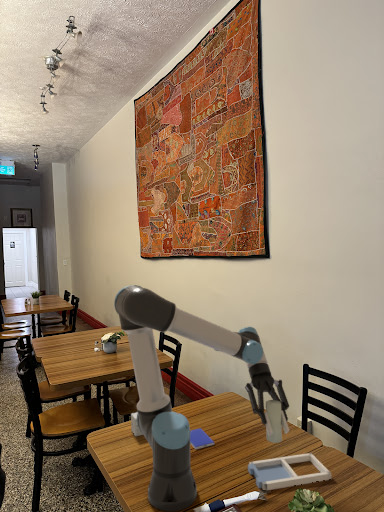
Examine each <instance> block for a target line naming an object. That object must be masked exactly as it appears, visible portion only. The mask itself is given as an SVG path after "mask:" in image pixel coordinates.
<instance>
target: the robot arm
mask: <svg viewBox="0 0 384 512" xmlns="http://www.w3.org/2000/svg"><path fill="white" fill-rule="evenodd" d="M113 304H114V306H113V307H114V310H115V312H116V314H117V315H118V319H119V323H120V324H119V325H120V327H121V330H122V331H123V332H125V334H126V335H127V340H128V346H129V350H130V356H131V360H132V365H133V371H134V376H135V382H136V386H137V393H138V396H139V397H138V398H139V401H138V402H137V403H136V412H138V413H137V424H138V427H139V429H140V431H141V433H142V434H143V435H142V436H143V437H144V438H145V439H146V442H147V443H148V444H149V447H150V448H151V451H152V473H151V478H150V482H148V483H149V484H148V487H147V500H148V502H149V504H150V505H151V506H152V507H153V508H155V509H157V510H158V511H164V512H178V511H182V510H185V509H186V508H188V507H190V506H191V505H192V504H194V503H195V501H196V499H197V495H198V487H197V483H196V480H195V477H194V474H193V471H192V469H191V443H190V431H191V428H190V422H189V420H188V418H187V417H186V416H185V415H184V414H182V413H178V412H176V411H173V409H172V402H171V397H170V396H169V395H168V394H166V393H165V390H164V384H163V378H162V372H161V368H160V362H159V357H158V352H157V346H156V341H155V335H154V330H155V331H157V332H160V333H166V332H170V333H173V334H175V335H177V336H180V337H183V338H186V339H188V340H189V341H193V342H195V343H198V344H200V345H202V346H206V347H208V348H210V349H212V350H214V351H215V352H220V353H223V354H226V355H229V356H231V357H234V358H236V359H238V360H241V361H243V362H245V364H246V366H247V369H248V374H249V377H250V379H251V381H250V382H247V383H246V384H245V387H244V389H245V390H246V392H247V394H248V398H249V402H250V405H251V409H252V412H253V414H254V415H256V414H257V415H258V417H259V418H260V421H261V423H262V425H263V426H264V425H265V428H266V429H267V432H268V436H271V435H272V433H273V431H272V427H271V424H270V421H269V418H268V414H267V412H266V411H265V403H264V393H268V395H269V396H270V397H271V400H277V401H279V402H281V420H282V429H283V430H282V431H283V432H284V435H285V434H288V433H289V432H290V428H289V425H288V420H289V418H288V415H287V411H288V409H289V408H290V404H289V401H288V397H287V395H286V392H285V390H284V387H283V380H282V379H279V380H277V379H274V377H273V376H272V372H271V370H270V366H269V364H268V361H267V357H266V354H265V352H264V347H263V345H262V341H261V339H260V336H259V334H258V332H257V329H256V328H255V327H253V326H247V327H246V326H245V327H243V328H240V329H239V331H238V332H237V331H231V330H229V329H228V328H225V327H223V326H220V325H217V324H215V323H213V322H211V321H208V320H206V319H204V318H201V317H199V316H197V315H194V314H192V313H189V312H187V311H186V310H183V309H180V308H178V307H177V306H176V303H174V302H173V301H170V300H168V299H165V298H164V297H162V296H160V295H159V294H158V293H156V292H154V291H152V289H148V288H146V287H143V286H140V285H135V284H134V285H132V284H131V285H126V286H124V287H122V288H121V289H120V290H119V291H118V292H117V293H116V295H115V297H114V301H113ZM274 386H275V387H274ZM254 389H256V395H257V399H256V395H255V391H254ZM275 389H276V390H275ZM276 391H277V392H276Z"/></svg>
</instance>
